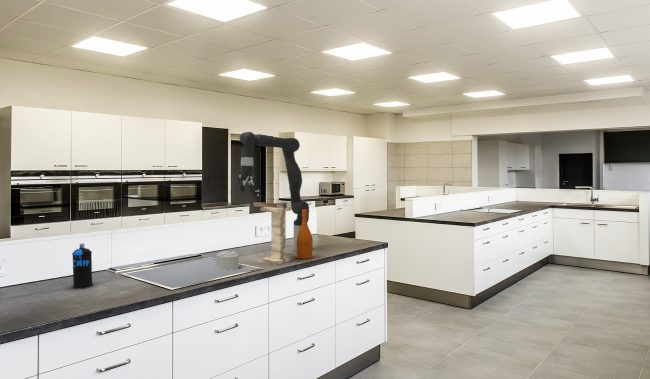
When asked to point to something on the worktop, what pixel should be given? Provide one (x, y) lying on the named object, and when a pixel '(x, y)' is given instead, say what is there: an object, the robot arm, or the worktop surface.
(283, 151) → the robot arm
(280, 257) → the stand
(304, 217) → the wine bottle
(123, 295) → the worktop surface
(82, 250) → the aerosol can
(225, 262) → the lumpy-topped squat cylinder
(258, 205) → the rod
